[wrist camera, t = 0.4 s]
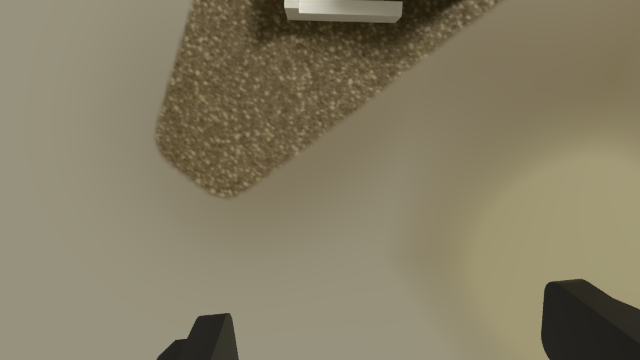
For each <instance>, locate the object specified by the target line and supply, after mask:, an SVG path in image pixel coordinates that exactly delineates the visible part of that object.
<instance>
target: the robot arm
mask: <svg viewBox="0 0 640 360" xmlns="http://www.w3.org/2000/svg"><path fill="white" fill-rule="evenodd" d="M541 339H542V344H543V347H544V350H545V352H546V354H547V356H548V358H549V359H550V360H640V310H639V309H637V308H635V307H633V306H630V305H628V304H625V303H623V302H621V301H618V300H616V299H614V298H612V297H610V296H609V295H607V294H606V293H604V292H603V291H601V290H600V289H598V288H597V287H595V286H593V285H592V284H590V283H589V282H587V281H586V280H583V279H574V280H565V281H554V282H549V283H548V284H547V285H546V287H545V291H544V303H543V316H542V331H541ZM157 360H239V359H238V352H237V346H236V340H235V333H234V327H233V321H232V317H231V315H230V314H229V313H225V314H214V315H204V316H199V317H198V318H197V319H196V321H195V323H194V326H193V327H192V330H191V332H190V334H189V336H188V338H187V339H181V340H175V341H174V342H173V343H172V344H171V345H170V346H169V347H168V348H167V349H166V350H165V351H164V352H163V353H162V354H161V355H159V357H158V358H157Z"/></svg>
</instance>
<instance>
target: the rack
mask: <svg viewBox="0 0 640 360" xmlns="http://www.w3.org/2000/svg"><path fill="white" fill-rule="evenodd" d="M402 3H403V2H401V1H367V0H284V9H285V12H286V16H287V19H288V20H305V21H341V22H376V23H396V22H397V21H398V20H399V19H400V17H401V16H402Z"/></svg>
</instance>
